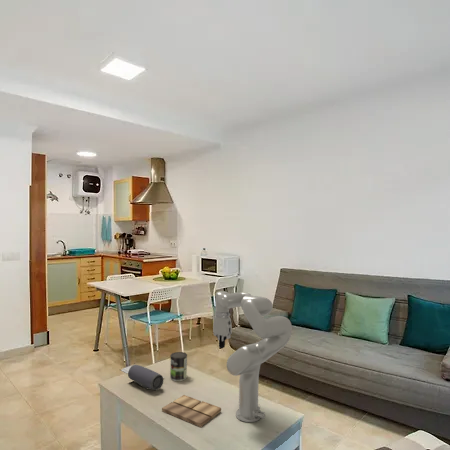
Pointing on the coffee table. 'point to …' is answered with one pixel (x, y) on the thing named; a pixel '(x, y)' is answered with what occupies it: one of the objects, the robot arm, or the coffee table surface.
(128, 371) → the baseboard molding
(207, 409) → the plank near
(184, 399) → the plank far
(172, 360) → the coffee can
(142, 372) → the bluetooth speaker
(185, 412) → the floor plank
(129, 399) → the coffee table surface
